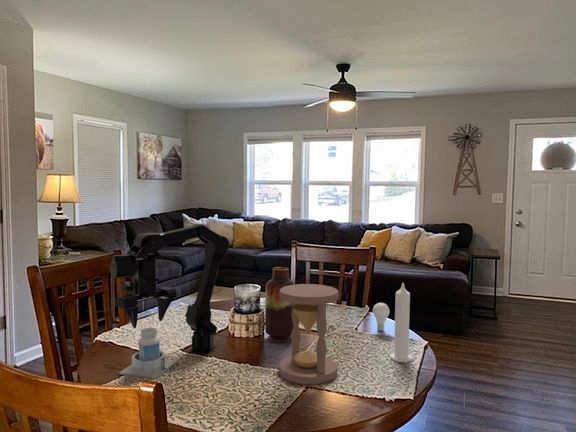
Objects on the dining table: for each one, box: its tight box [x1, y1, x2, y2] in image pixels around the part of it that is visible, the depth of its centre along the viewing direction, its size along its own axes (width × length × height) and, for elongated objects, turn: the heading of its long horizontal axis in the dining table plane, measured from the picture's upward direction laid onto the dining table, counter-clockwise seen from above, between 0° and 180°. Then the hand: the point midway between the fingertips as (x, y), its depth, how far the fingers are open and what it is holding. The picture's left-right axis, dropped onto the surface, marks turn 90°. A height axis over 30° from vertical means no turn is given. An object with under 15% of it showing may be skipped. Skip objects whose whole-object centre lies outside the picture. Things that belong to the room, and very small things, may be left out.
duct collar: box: [118, 349, 177, 380], centre depth 135 cm, size 12×12×4 cm
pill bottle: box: [138, 327, 161, 361], centre depth 135 cm, size 6×6×11 cm
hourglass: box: [278, 283, 340, 386], centre depth 133 cm, size 18×18×25 cm
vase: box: [264, 266, 296, 344], centre depth 162 cm, size 11×11×26 cm
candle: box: [389, 282, 413, 363], centre depth 144 cm, size 7×7×25 cm
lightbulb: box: [372, 302, 390, 332], centre depth 173 cm, size 6×6×11 cm
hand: (147, 324), depth 138 cm, fingers open, 9 cm apart
